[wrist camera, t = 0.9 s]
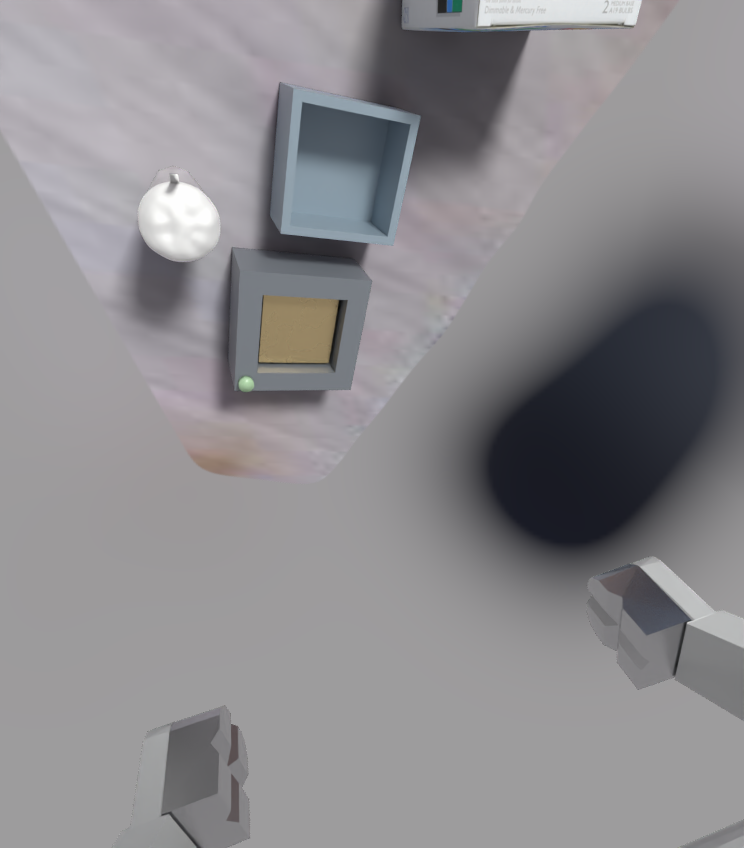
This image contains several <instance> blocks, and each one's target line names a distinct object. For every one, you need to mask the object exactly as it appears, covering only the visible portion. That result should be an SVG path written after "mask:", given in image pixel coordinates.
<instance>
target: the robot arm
mask: <svg viewBox="0 0 744 848" xmlns="http://www.w3.org/2000/svg"><path fill="white" fill-rule="evenodd" d="M588 590H589V592H590V593H591V594H592V596H591V598H590V599H589V600H588V602H587V615H588V619H589V622H590V624H591V627H592V628H593V630H594V632H595V634H596V635H597V636H598V638H599V639H600V641H601V642H602V643H603V644H604V645H605V646H607V647H609V648H611V649H613V650H615V651H617V663H618V664H619V666H620V667H621V668H622V670H623V671H624V672H625V674H626V675H627V676H628V677H629V679H630V680H631V681H632V683H633V684H634V685H635V687H636V688H637V689H638V690H639V689H642V688H645V687H648V686H651V685H654V684H657V683H660V682H662V681H665V680H668V679H671V678H674V677H675V680H676V681H678V682H680V683H681V684H683V685H685V686H686V687H688V688H690V689H691V690H693V691H695V692H696V693H698V694H700V695H702V696H703V697H705V698H706V699H708V700H710V701H711V702H713V703H715V704H716V705H718V706H720V707H721V708H723V709H725V710H726V711H728V712H730V713H731V714H733V715H735V716H736V717H738V718H740V719H741V720H743V721H744V618H741V617H739V616H736V615H733V614H731V613H728V612H726V611H723V610H720V611H716V612H715V611H714V610H713V609H712V608H711V607H710V606H709V605H708V604H707V603H705V602H704V601H703V600H702V599H701V598H700V597H699V596H698V595H697V594H696V593H695V592H694V591H693V590H692V589H690V588H689V587H688V586H687V585H686V584H685V583H684V582H683V581H682V580H681V579H680V578H679V577H678V576H677V575H675V574H674V573H673V572H672V571H671V570H670V569H669V568H668V567H667V566H666V565H665V564H664V563H662V562H661V561H660V560H659V559H658V558H655V557H648V558H645V559H642V560H639V561H637V562H634V563H631V564H626V565H624V566H621V567H618V568H615V569H613V570H610V571H607V572H605V573H602V574H599V575H597V576H594V577H592V578H590V580H589V581H588ZM247 776H248V758H247V752H246V746H245V742H244V738H243V736H242V733H241V731H240V729H239V727H238V726H236V725H233V724H231V713H230V712H229V711H228V709H227V707H226V706H225V705H224V706H221V707H219V708H216V709H213V710H209V711H207V712H203V713H200V714H198V715H194V716H192V717H189V718H185V719H183V720H180V721H177V722H172V723H170V724H167V725H164V726H161V727H158V728H155V729H152V730H150V731H147V734H146V736H145V738H144V741H143V744H142V751H141V758H140V764H139V771H138V778H137V784H136V791H135V798H134V804H133V812H132V818H131V824H130V828H128V829H125V830H123V831H122V832H121V833H120V835H119V837H118V838H117V840H116V842H115V843H114V845H113V847H112V848H227V847H230V846H232V845H235V844H237V843H239V842H242V841H244V840H247V839H249V838H250V817H249V816H250V814H249V798H248V797H247V795H246V794H245V792H244V790H243V789H242V787H243V784H244V782H245V780H246V778H247ZM678 848H744V819H743V820H741V821H739V822H737V823H734V824H732V825H730V826H727V827H725V828H723V829H720V830H718V831H716V832H713V833H711V834H709V835H706V836H704V837H702V838H699V839H697V840H695V841H693V842H690V843H688V844H685V845H683V846H681V847H678Z"/></svg>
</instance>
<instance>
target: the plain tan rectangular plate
mask: <svg viewBox="0 0 744 848" xmlns="http://www.w3.org/2000/svg"><path fill="white" fill-rule="evenodd" d="M338 303H339V300H336V299H319V298H303V297H287V296H270V295H263V298H262V311H261V325H260V338H259V352H258V362H276V363H329V358H330V352H331V346H332V340H333V334H334V328H335V322H336V316H337V310H338Z"/></svg>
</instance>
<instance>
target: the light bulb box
mask: <svg viewBox="0 0 744 848" xmlns="http://www.w3.org/2000/svg"><path fill="white" fill-rule="evenodd" d="M641 1H642V0H402V29H403V30H418V31H443V32H500V31H531V30H567V29H628V28H633V27H634V26H635V24H636V21H637V17H638V13H639V9H640V5H641Z"/></svg>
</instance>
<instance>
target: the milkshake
mask: <svg viewBox="0 0 744 848" xmlns="http://www.w3.org/2000/svg"><path fill="white" fill-rule="evenodd" d="M138 225H139V230H140V233H141V235H142V237H143V239H144V241H145V242H146V244H147V245H148V246H149V247H150V248H151V249H152V250H153V251H155V252H156V253H158V254H159V255H161V256H163V257H165V258H167V259H169V260H171V261H175V262H191V261H196V260H199V259H201V258H203V257H204V256H206V255H207V254H209V253H210V252H211V251H212V250H213V249H214V248H215V246H216V245H217V243H218V240H219V237H220V218H219V214H218V211H217V209H216V207H215V206H214V204H213V203H212V201H211V200H210V199H209V198H208V196H207V195H206V194H205V193H204V192H203V190H202V188H201V187H200V185H199V184H198V182H197V181H196V180H195V179H194V177H193V176H192V175H191V174H190V172H189V171H187V170H184V169H181V168H178V167H176V166H170V167H167V168H164V169H161V170H158V172H157V174H156V176H155V177H154V179H153V181H152V182H151V184H150V187H149V189H148V190H147V192H146V193H145V195H144V197H143V198H142V200H141V202H140V204H139V208H138Z"/></svg>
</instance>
